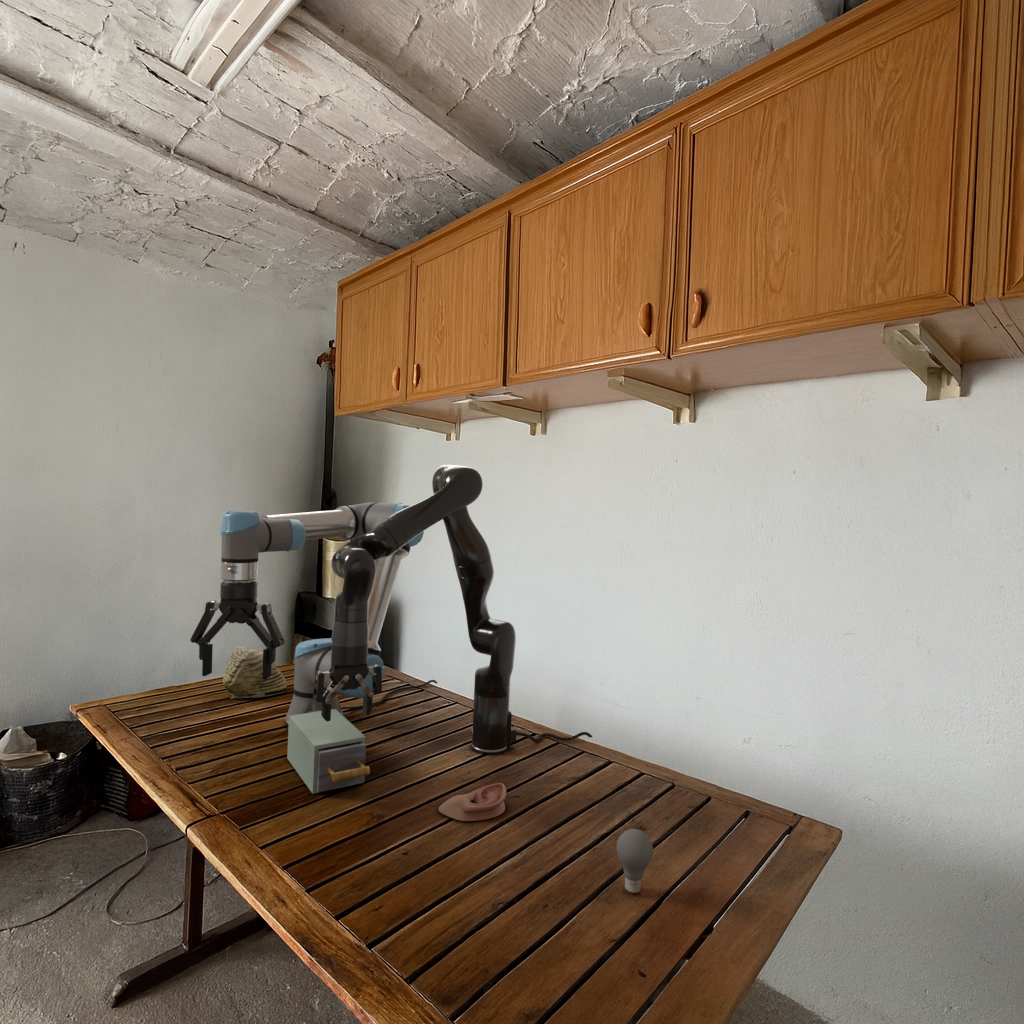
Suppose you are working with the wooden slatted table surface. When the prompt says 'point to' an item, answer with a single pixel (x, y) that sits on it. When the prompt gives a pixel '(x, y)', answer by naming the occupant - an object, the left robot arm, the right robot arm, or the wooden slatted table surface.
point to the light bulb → (634, 857)
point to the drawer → (341, 766)
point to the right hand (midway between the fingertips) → (347, 717)
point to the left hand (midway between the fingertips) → (236, 676)
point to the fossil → (251, 675)
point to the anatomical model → (476, 804)
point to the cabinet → (316, 741)
